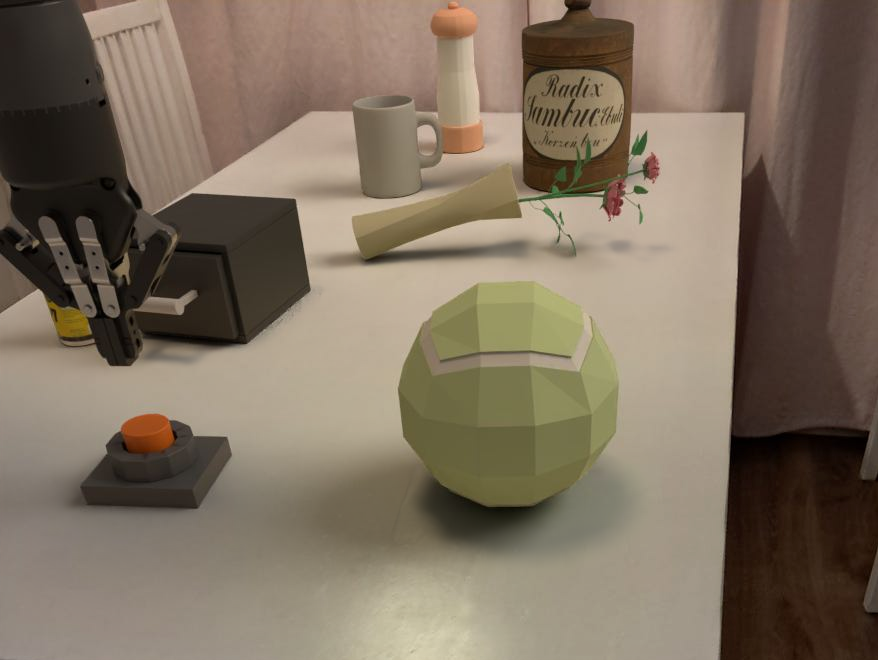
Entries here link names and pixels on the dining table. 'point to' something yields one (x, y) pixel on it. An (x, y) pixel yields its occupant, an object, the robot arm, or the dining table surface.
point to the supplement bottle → (70, 325)
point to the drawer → (188, 296)
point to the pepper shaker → (457, 79)
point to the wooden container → (576, 98)
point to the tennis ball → (509, 394)
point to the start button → (147, 433)
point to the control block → (158, 472)
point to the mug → (392, 145)
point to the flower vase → (485, 205)
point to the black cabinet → (245, 252)
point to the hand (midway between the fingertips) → (125, 361)
